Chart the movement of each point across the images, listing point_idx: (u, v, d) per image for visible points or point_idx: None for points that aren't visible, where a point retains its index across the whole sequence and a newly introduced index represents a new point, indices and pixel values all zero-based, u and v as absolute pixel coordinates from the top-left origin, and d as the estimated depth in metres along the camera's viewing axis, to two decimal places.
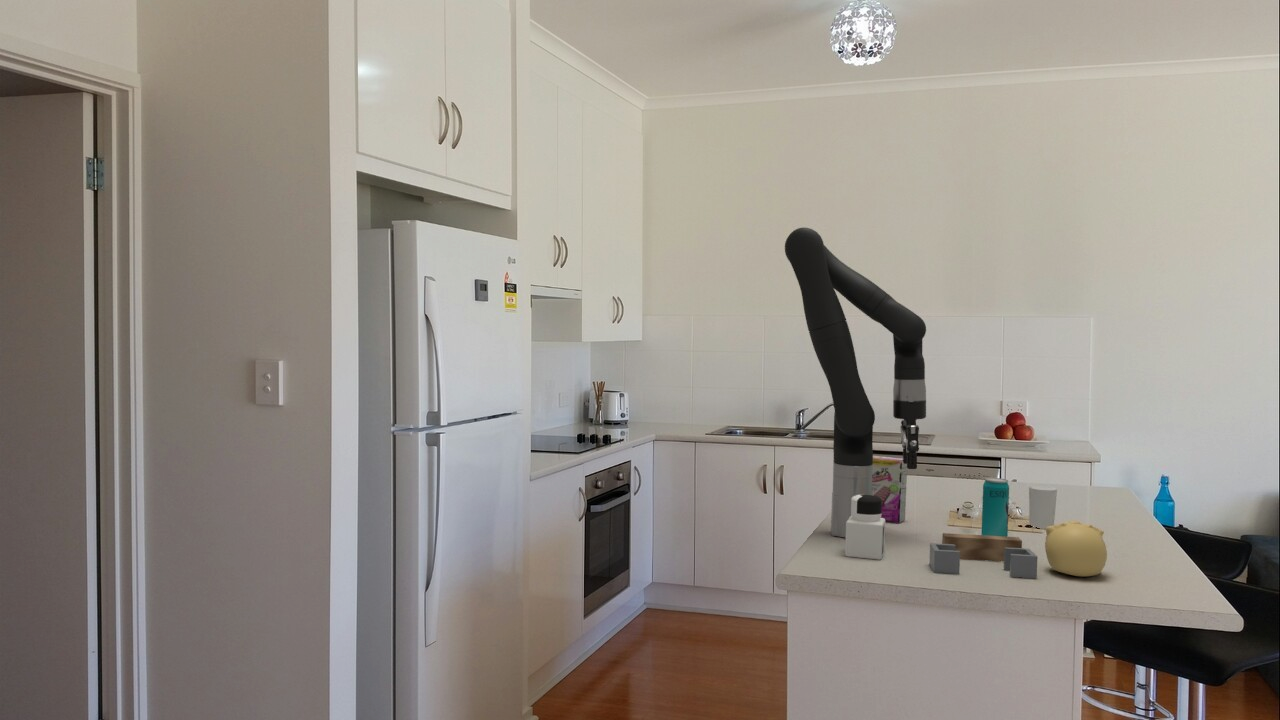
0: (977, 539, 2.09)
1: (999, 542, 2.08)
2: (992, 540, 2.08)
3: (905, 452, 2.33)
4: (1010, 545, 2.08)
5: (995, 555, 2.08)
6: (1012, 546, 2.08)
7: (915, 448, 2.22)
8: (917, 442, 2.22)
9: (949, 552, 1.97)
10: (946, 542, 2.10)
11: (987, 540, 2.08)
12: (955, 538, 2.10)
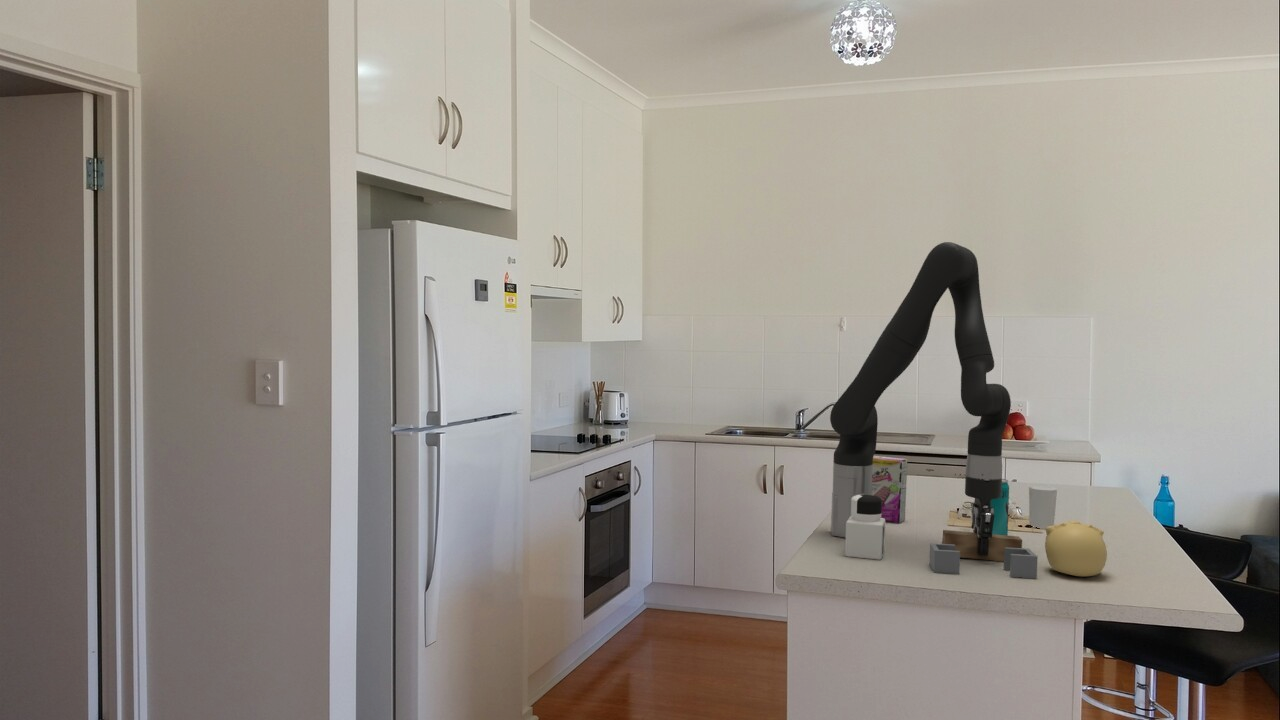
0: (977, 537, 2.09)
1: (1000, 541, 2.08)
2: (992, 538, 2.08)
3: None
4: (1010, 544, 2.08)
5: (995, 554, 2.08)
6: (1012, 545, 2.08)
7: (988, 535, 2.06)
8: (991, 530, 2.05)
9: (949, 552, 1.97)
10: (946, 539, 2.10)
11: None
12: (955, 535, 2.10)
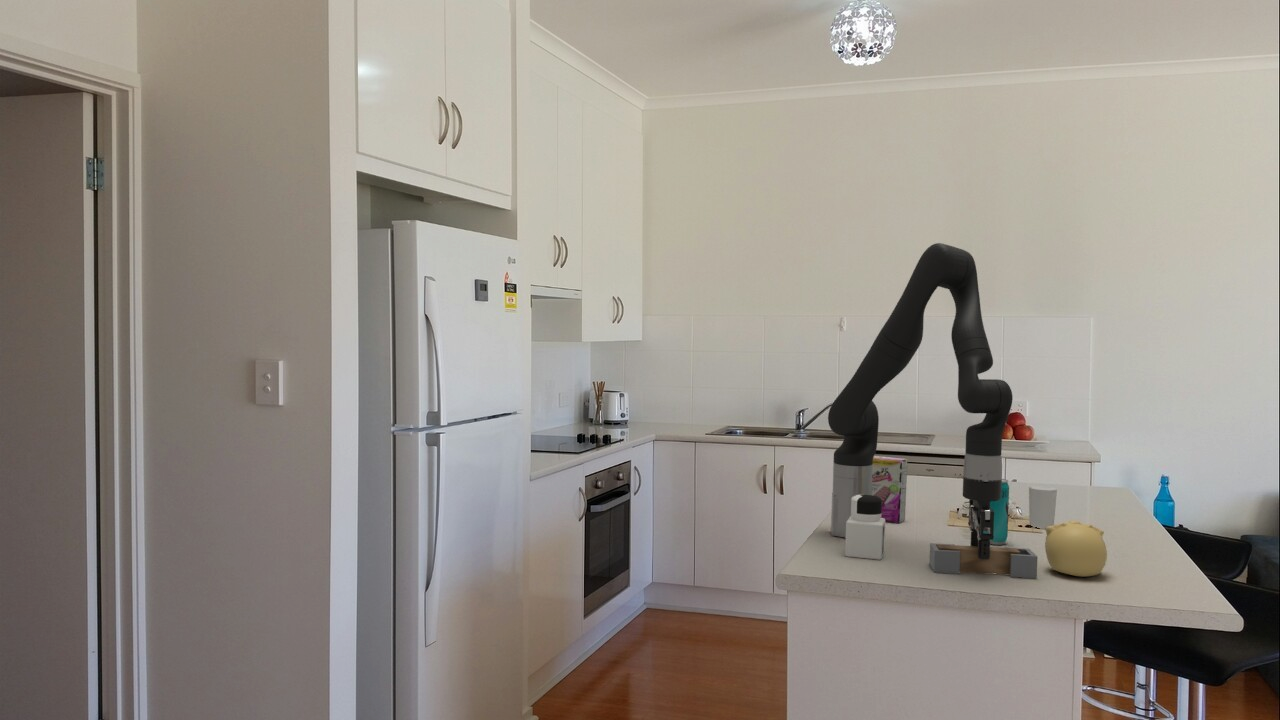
0: (973, 551, 1.97)
1: (997, 554, 1.97)
2: None
3: (973, 536, 2.03)
4: (1008, 557, 1.97)
5: (992, 568, 1.97)
6: None
7: (989, 536, 1.92)
8: (992, 530, 1.92)
9: (949, 552, 1.97)
10: None
11: None
12: None
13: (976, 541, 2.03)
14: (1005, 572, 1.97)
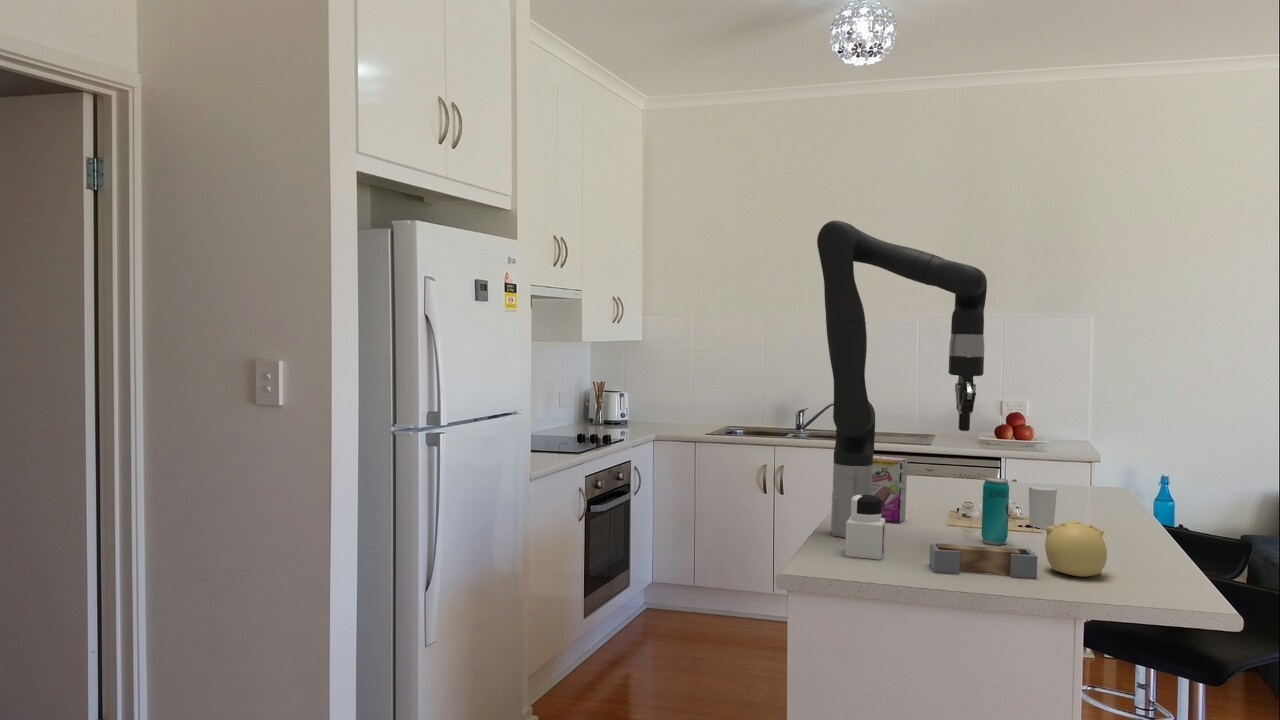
0: (972, 550, 1.98)
1: (996, 554, 1.97)
2: (988, 552, 1.97)
3: None
4: (1008, 557, 1.96)
5: (992, 568, 1.97)
6: None
7: (969, 410, 2.16)
8: (972, 406, 2.15)
9: (949, 552, 1.97)
10: None
11: (983, 552, 1.97)
12: (949, 549, 1.99)
13: None
14: (1005, 572, 1.96)
